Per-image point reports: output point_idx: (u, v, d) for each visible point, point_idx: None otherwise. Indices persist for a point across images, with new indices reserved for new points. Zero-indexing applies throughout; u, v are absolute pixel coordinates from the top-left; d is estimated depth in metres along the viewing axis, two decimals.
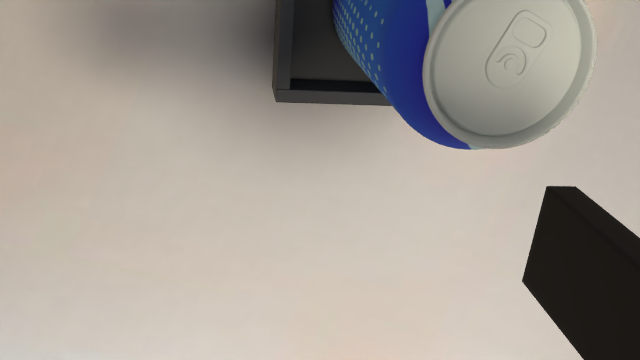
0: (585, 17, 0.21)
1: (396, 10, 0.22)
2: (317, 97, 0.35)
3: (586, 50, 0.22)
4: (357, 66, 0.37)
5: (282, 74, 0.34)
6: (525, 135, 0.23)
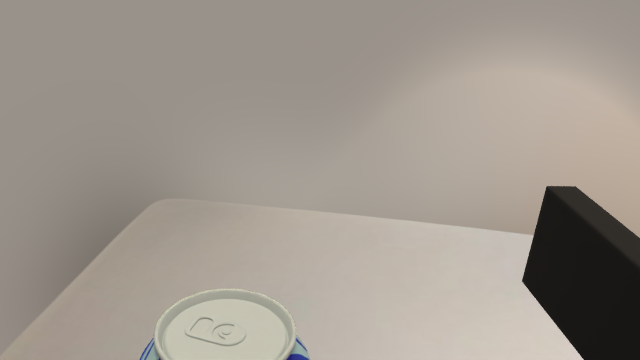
0: (189, 300, 0.30)
1: None
2: None
3: (214, 296, 0.30)
4: None
5: None
6: (282, 314, 0.29)
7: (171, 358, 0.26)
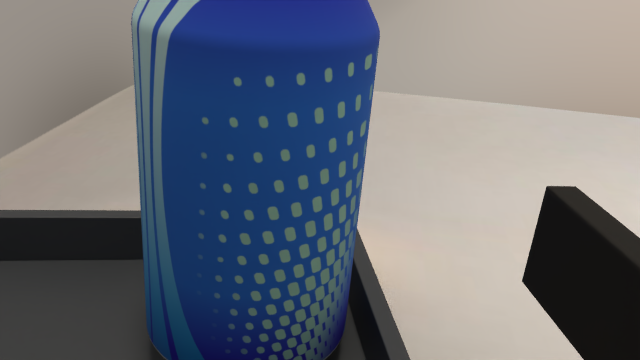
0: None
1: (216, 40, 0.17)
2: None
3: None
4: None
5: None
6: None
7: None
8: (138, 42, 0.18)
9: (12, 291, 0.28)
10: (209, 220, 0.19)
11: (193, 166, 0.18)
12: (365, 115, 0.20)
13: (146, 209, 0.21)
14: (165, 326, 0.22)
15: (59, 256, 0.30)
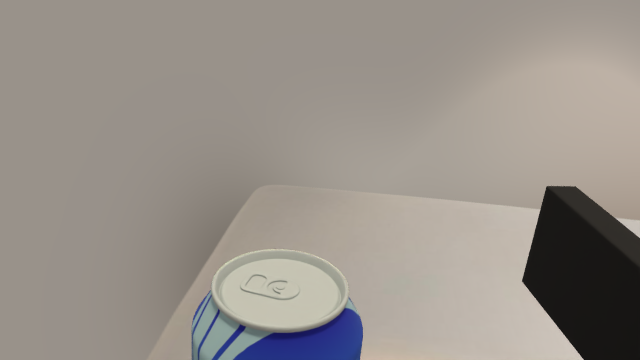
0: (241, 259, 0.30)
1: None
2: None
3: (264, 256, 0.31)
4: None
5: None
6: (332, 272, 0.30)
7: (230, 310, 0.27)
8: None
9: None
10: None
11: None
12: None
13: None
14: None
15: None
